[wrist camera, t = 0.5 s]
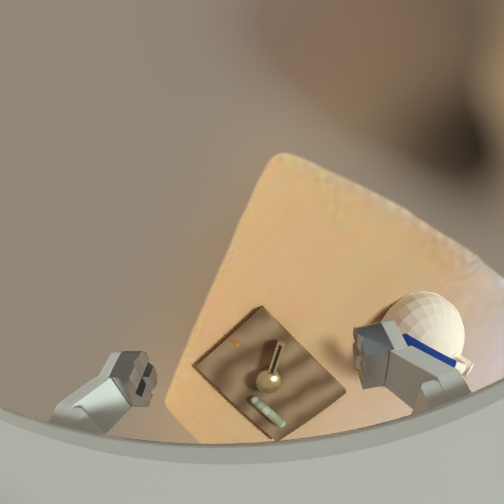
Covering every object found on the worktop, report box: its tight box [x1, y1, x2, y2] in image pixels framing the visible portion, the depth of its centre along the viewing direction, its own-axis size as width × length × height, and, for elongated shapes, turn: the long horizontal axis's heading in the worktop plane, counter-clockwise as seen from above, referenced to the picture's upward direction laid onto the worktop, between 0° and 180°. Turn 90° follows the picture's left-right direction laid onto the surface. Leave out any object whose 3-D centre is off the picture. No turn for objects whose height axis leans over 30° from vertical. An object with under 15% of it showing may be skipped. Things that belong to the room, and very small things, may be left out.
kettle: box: [381, 291, 474, 377], centre depth 46 cm, size 20×21×18 cm
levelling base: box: [196, 306, 346, 441], centre depth 59 cm, size 26×20×4 cm
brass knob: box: [256, 339, 286, 394], centre depth 56 cm, size 12×5×3 cm, turn 164°
